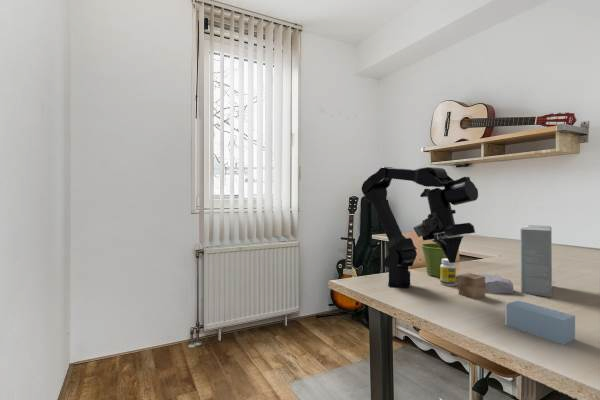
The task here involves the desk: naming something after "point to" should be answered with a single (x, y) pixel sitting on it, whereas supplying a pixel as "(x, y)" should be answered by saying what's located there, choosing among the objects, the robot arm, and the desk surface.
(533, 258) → the hard drive box
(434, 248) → the plant pot
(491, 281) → the stone block
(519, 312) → the slate block
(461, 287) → the walnut block
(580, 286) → the desk surface
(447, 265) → the supplement bottle
